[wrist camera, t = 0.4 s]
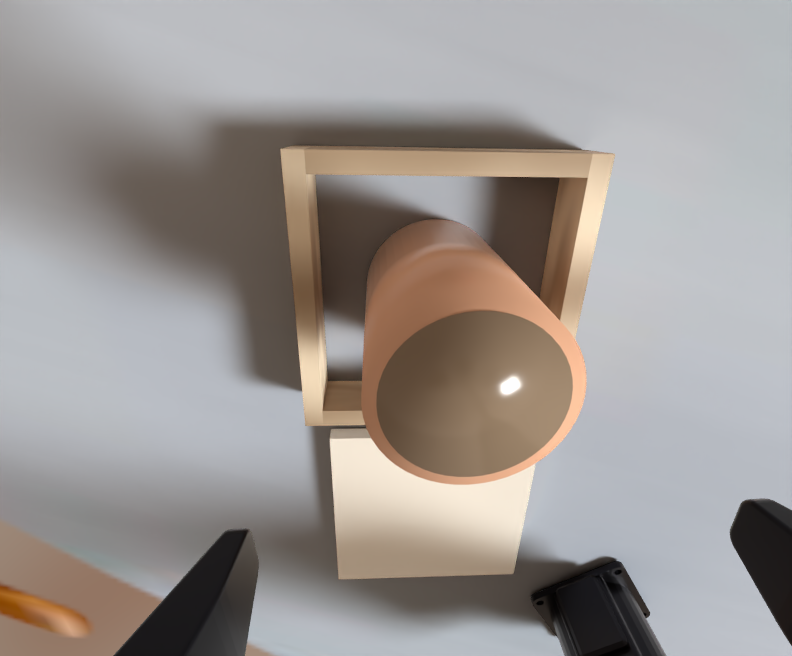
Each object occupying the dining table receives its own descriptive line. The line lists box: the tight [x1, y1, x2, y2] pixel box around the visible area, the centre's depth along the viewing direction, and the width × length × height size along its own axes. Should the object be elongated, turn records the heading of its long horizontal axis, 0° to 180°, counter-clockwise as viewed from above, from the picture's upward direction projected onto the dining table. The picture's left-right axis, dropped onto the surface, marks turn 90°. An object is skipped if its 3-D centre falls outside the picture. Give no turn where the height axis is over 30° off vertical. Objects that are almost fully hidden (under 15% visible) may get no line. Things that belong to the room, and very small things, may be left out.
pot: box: [361, 219, 586, 485], centre depth 16 cm, size 6×6×9 cm
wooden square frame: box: [280, 145, 615, 426], centre depth 18 cm, size 12×12×2 cm
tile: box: [330, 428, 536, 580], centre depth 25 cm, size 11×11×1 cm
